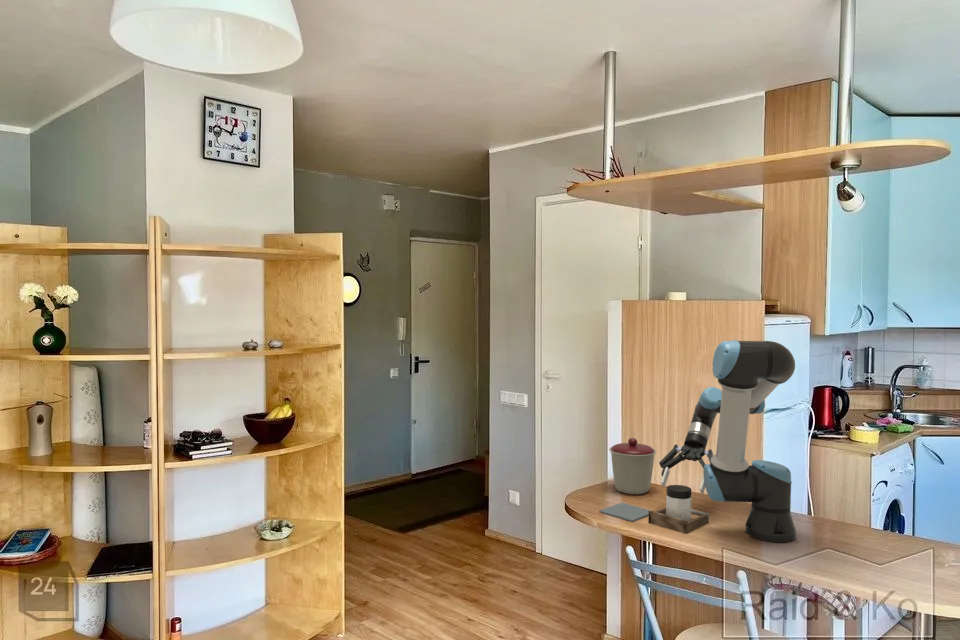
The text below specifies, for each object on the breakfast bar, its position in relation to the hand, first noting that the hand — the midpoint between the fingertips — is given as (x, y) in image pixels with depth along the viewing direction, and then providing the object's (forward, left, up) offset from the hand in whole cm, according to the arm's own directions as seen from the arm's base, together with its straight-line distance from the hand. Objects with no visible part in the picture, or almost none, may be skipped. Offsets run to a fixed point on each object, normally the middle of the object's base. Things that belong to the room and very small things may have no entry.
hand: (681, 488), depth 230 cm
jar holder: (-2, +5, -11) cm, 12 cm away
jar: (-2, +5, -11) cm, 12 cm away
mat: (+16, +9, -11) cm, 21 cm away
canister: (+30, -15, -11) cm, 35 cm away
